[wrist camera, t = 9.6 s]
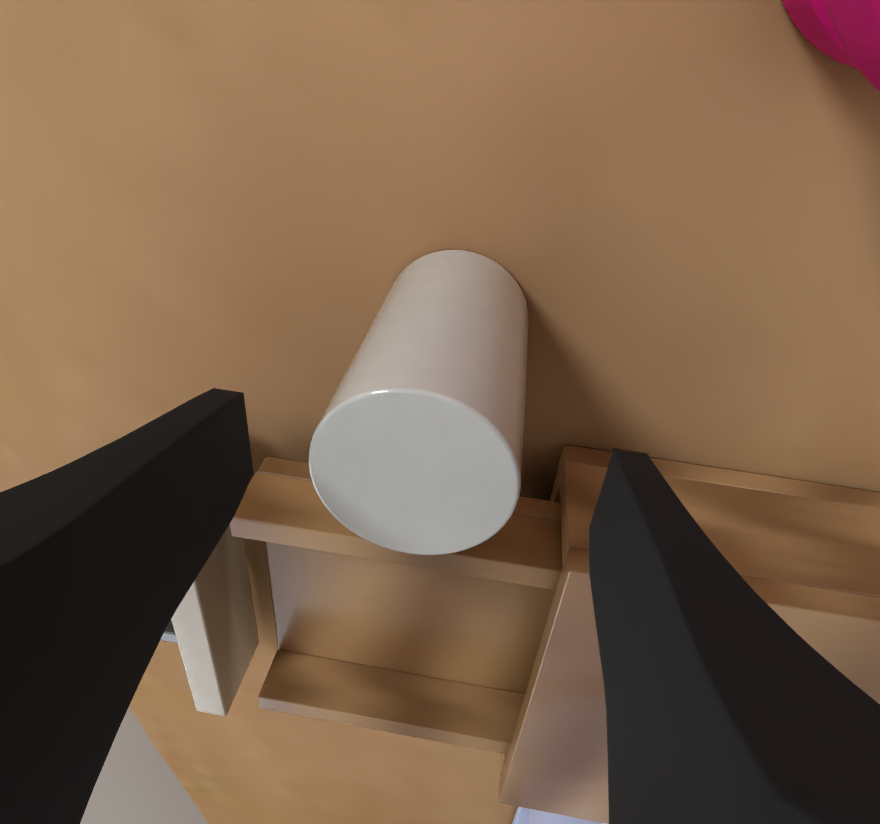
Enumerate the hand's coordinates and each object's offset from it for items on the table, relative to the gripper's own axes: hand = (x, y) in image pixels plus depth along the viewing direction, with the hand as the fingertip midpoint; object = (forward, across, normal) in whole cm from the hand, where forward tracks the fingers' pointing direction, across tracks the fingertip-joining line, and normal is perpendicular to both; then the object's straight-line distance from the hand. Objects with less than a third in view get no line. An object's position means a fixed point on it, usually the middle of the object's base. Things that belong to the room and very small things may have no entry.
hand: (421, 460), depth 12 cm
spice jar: (+6, 0, 0) cm, 6 cm away
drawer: (+5, +4, +10) cm, 12 cm away
